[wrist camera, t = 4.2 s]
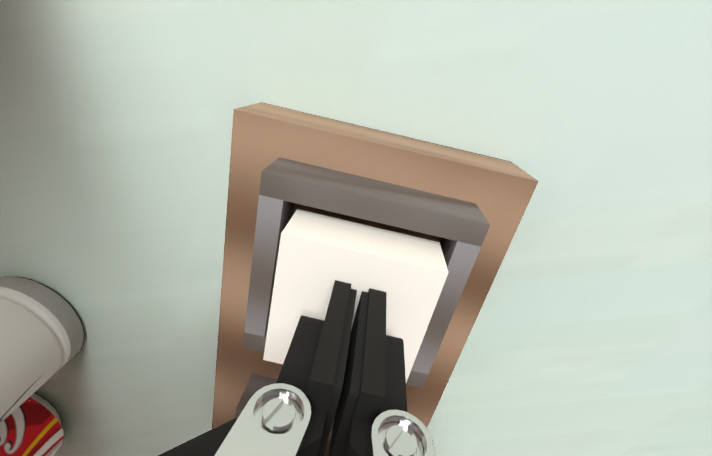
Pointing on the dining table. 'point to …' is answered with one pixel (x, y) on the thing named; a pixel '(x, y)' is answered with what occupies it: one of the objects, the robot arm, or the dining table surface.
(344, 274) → the white key
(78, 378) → the dining table surface
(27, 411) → the soda can
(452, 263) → the board
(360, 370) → the robot arm
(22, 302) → the travel mug
